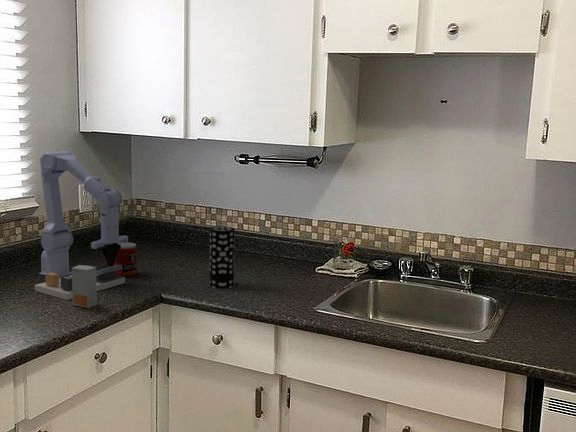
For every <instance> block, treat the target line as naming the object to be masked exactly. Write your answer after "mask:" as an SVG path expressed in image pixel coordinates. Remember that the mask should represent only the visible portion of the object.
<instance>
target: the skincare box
mask: <svg viewBox="0 0 576 432" xmlns="http://www.w3.org/2000/svg"><path fill="white" fill-rule="evenodd" d="M96 271H97V267H96V266H91V265H84V264H83V265H82V264H78V265H76V266H72V267H71V272H72V274H71V275H72V296H73V299H72V306H77V307H82V308H87V309H90V308H92V307H94V306H96V305H97V304H98V301H97V299H98V298H97V297H98V295H97V293H98V291H97V287H96Z"/></svg>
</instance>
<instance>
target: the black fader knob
mask: <svg viewBox="0 0 576 432" xmlns="http://www.w3.org/2000/svg"><path fill="white" fill-rule="evenodd" d="M69 276H70V275H68V276H64V277H60V278H61V289H65V290H71V289H72V277H69Z"/></svg>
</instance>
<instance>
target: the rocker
mask: <svg viewBox="0 0 576 432" xmlns="http://www.w3.org/2000/svg"><path fill="white" fill-rule="evenodd" d="M120 269H123V267H122V265H117V266H115V265H114V266H108V267H107V268H102V269H98V270H96V276H97V275H101V274H105V273H109V272H113V271H114V272H115V271H116V270H120Z"/></svg>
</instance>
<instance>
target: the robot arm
mask: <svg viewBox="0 0 576 432" xmlns="http://www.w3.org/2000/svg"><path fill="white" fill-rule="evenodd" d="M39 163H40V178H41V184H42V185H41V186H42V192H43V199H44V200H43V202H44V208H45V215H46V225H45V227H43V229H42V230H41V239H40V243H41V246H42V248H43V251H42V252H41V255H40V262H41V264H40V265H41V268H40V269H41V272H39V275H42V276H45V274H47V273H51V272H53V273H57V274H59V278H62V277H66V276H71V275H72V270H71V271H70V260H69V257H70V256H69V250H70V249H71V246H72V245H73V242H74V237H73V234H72V231H71V227H70V226H69V225H68V224H67V223H65V222H64V213H63V206H62V205H63V204H62V198H61V197H62V196H61V190H60V182H59V178H60V177H61V176H62V175H63V174H64V173H65V172H69V173H70V174H71V175H73V176H74V177H75V178H76V179H78V180H79V181H80V182H82V183H83V189H84V190H85V191H87V192H88V193H89V194H90V195H91V196H92V197H93V198H94V199H95V202H96V204H97V205H96V206H98V210H99V213H100V239H98V240H95V241H92V242H90V248H91V249H94V250H96V249H98V248H99V249H100V251H101V253H102V254H103V256H104V259H105V263H106V266H107V267H113V266H115V260H116V256H117V254H118V252H119V250H120V248H121V245H119V244H118V243H123V242H129V236H128V235H119V234H120V233H119V232H120V230H119V225H120V224H119V206H121V204H122V202H123V197H122V194H121V193H120V192H119V190H118V189H113V188H110V186H108V185H107V184H105V182H104V181H102V180H101V177H100V176H96V175H91V174H90V173H89V172H88V171H87V170H86V169H85V168H84V167H83V165H81V164H80V163H79V161H78V160H77V156H76V155H75V154H74V153H72V152H71V151H70V150H62V151H61V150H60V151H46V152H44V153H43V154H42V155H41V157H40V158H39Z"/></svg>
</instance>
